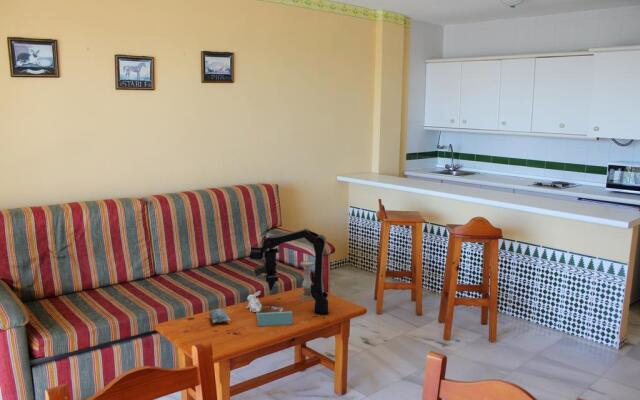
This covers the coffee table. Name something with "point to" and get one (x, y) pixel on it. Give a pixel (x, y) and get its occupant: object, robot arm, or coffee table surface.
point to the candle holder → (307, 281)
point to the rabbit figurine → (254, 302)
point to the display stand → (274, 318)
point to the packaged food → (218, 316)
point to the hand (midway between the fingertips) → (270, 290)
